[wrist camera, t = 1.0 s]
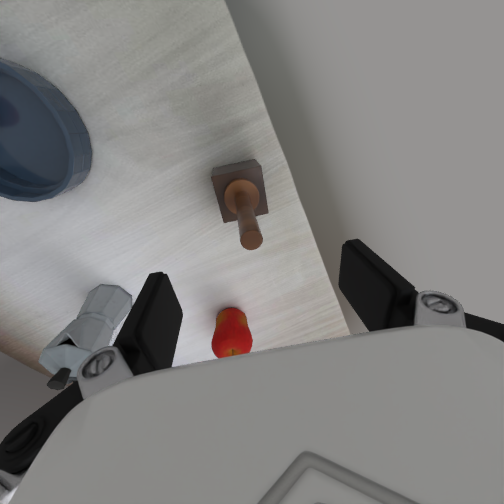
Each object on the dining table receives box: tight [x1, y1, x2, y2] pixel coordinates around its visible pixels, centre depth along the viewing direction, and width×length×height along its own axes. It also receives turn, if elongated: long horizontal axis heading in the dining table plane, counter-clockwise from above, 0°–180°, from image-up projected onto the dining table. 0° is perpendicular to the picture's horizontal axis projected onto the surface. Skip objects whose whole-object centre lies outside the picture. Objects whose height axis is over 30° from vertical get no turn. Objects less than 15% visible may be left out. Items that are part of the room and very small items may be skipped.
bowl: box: [0, 58, 92, 202], centre depth 28 cm, size 16×16×5 cm
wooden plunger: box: [224, 178, 263, 250], centre depth 25 cm, size 5×5×14 cm
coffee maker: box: [39, 284, 132, 390], centre depth 39 cm, size 15×9×18 cm, turn 167°
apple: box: [211, 308, 253, 358], centre depth 48 cm, size 9×8×12 cm
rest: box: [211, 159, 268, 223], centre depth 34 cm, size 7×7×7 cm
